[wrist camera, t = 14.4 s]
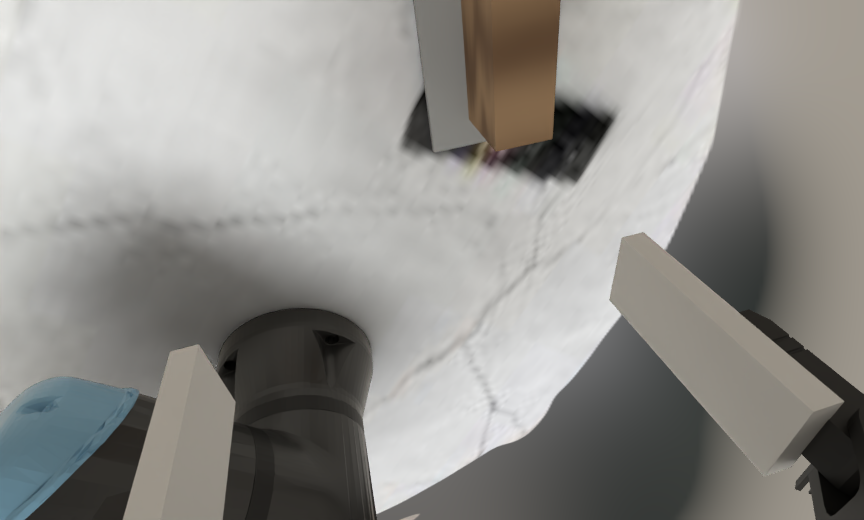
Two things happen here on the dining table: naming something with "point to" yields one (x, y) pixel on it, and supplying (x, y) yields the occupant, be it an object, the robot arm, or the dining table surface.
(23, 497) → the robot arm
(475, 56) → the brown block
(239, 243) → the dining table surface
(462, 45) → the rest mat
